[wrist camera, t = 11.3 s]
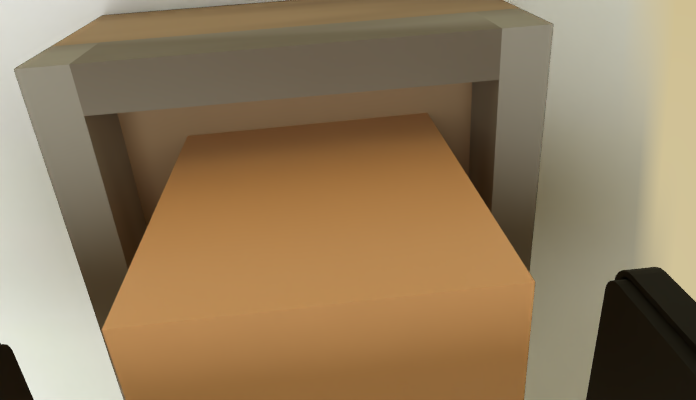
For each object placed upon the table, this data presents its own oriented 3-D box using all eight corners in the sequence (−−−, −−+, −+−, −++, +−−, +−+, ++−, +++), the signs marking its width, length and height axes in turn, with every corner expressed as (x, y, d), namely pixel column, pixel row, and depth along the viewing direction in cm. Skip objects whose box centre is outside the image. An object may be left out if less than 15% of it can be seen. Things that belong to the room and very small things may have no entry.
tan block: (429, 354, 14) (504, 603, 9) (238, 376, 14) (208, 642, 9) (426, 112, 11) (535, 281, 6) (187, 135, 11) (102, 329, 6)
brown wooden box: (461, 325, 17) (511, 452, 13) (187, 354, 17) (155, 494, 13) (472, -15, 13) (553, 24, 9) (102, 15, 13) (14, 69, 9)
